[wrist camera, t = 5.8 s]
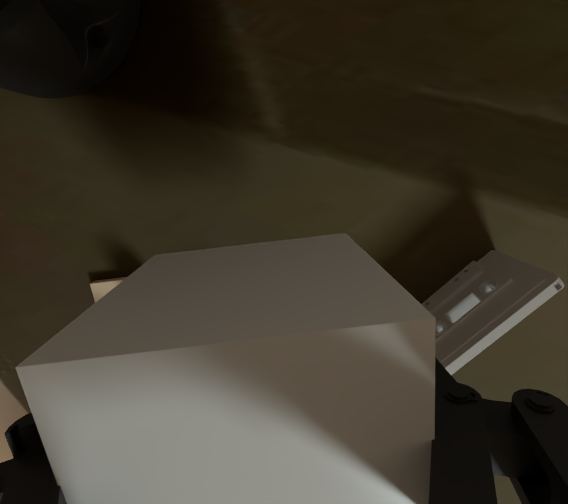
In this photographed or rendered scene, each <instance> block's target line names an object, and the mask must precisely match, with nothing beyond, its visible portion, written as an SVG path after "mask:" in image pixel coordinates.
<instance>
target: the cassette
mask: <svg viewBox="0 0 568 504" xmlns="http://www.w3.org/2000/svg"><path fill="white" fill-rule="evenodd" d="M562 288H564V283H563V282H562V281H561V279H560V278H559V277H558V276H557V275H555V274H553V273H550V272H548V271H545V270H543V269H540V268H538V267H535V266H533V265H530V264H528V263H525V262H523V261H520V260H518V259H515V258H513V257H510V256H508V255H505V254H503V253H500V252H498V251H495V250H491V251H490V252H488V253H487V254H486V255H485V256H484V257H482V258H481V259H480V260H479V261H477V262H475V261H472V262H471V263H470V264H469V265H467V266H466V267H465V268H464V269H463V270H461V271H460V272H459V273H458V274H457V275H455V276H454V277H453V278H452V279H451V280H449V281H448V282H447V283H446V284H445V285H443V286H442V287H441V288H440V289H439V290H437V291H436V292H435V293H434V294H433V295H431V296H430V297H429V298H428V299H427V300H425V301H424V302H423V303H422V304H421V305H423V306H424V307H425V308H426V309H427V310H428V311H429V312H430V313H431V314H432V315H433V316H434V317H435V318H436V327H435V357H436V358H437V359H438V360H439V362H440V363H441V364H442V365H443V366H444V368H445V369H446V370H447V371H448V372H449V374H450V375H452V374H453V373H455V372H456V371H457V370H458V369H460V368H461V367H462V366H464V365H465V364H466V363H467V362H469V361H470V360H471V359H472V358H474V357H475V356H476V355H478V354H479V353H480V352H481V351H483V350H484V349H485V348H487V347H488V346H489V345H490V344H492V343H493V342H494V341H496V340H497V339H498V338H499V337H501V336H502V335H503V334H505V333H506V332H507V331H508V330H510V329H511V328H512V327H513V326H515V325H516V324H517V323H519V322H520V321H521V320H522V319H524V318H525V317H526V316H528V315H529V314H530V313H531V312H533V311H534V310H535V309H537V308H538V307H539V306H540V305H542V304H543V303H544V302H546V301H547V300H548V299H549V298H551V297H552V296H553V295H554V294H556V293H557V292H558V291H560V290H561V289H562Z"/></svg>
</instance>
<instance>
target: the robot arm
mask: <svg viewBox="0 0 568 504" xmlns="http://www.w3.org/2000/svg"><path fill="white" fill-rule="evenodd" d="M140 5H141V0H0V87H1V88H4V89H7V90H11V91H14V92H18V93H22V94H25V95H29V96H34V97H41V98H63V97H69V96H73V95H77V94H80V93H83V92H86V91H88V90H90V89H92V88H94V87H96V86H97V85H99V84H100V83H102V82H103V81H104V80H106V79H107V78H108V77H109V76H110V75H111V74H112V73H113V72H114V71H115V70H116V69H117V68H118V67H119V65H120V64H121V63H122V61H123V60H124V58H125V57H126V55H127V53H128V51H129V49H130V47H131V45H132V43H133V40H134V37H135V34H136V31H137V27H138V22H139V16H140ZM5 436H6V439H7V441H8V444H9V447H10V449H11V451H12V454H13V459H11V460H8V461H5V462H2V463H0V504H67V503H66V500H65V497H64V494H63V492H62V489H61V486H58V485H57V482H56V479H55V476H54V474H53V471H52V468H51V465H50V463H49V460H48V457H47V454H46V451H45V449H44V446H43V443H42V440H41V437H40V435H39V432H38V429H37V426H36V424H35V421H34V418H33V415H32V412H31V413H29V414H27V415H25V416H23V417H22V418H20V419H18V420H17V421H15V422H14V423H13V424H12V425H11V426H10V427H9V428H8V429H7V431H6V432H5ZM493 474H495V475H501V476H507V477H509V478H510V480H511V482H512V484H513V486H514V488H515V490H516V492H517V494H518V497H519V499H520V501H521V503H522V504H568V406H567V405H566V404H565V403H564V402H562V401H561V400H560V399H559V398H557V397H555V396H553V395H551V394H549V393H546V392H543V391H540V390H533V389H522V390H518V391H516V392H514V394H513V396H512V402H503V401H493V400H487V399H483V398H482V397H481V395H480V394H479V393H478V392H477V391H476V390H475V389H473V388H471V387H469V386H467V385H464V384H460V383H457V382H456V381H455V379H454V378H453V377H452V376H451V375H450V374H449V372H448V371H447V370H446V369H445V368H444V366H443V365H442V364H441V363H440V362H439V360H438V359H437V358H436V357H435V439H434V440H432V445H431V465H430V485H429V504H497V498H496V491H495V484H494V476H493Z"/></svg>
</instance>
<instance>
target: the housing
mask: <svg viewBox="0 0 568 504" xmlns="http://www.w3.org/2000/svg"><path fill="white" fill-rule="evenodd" d="M435 327H436V318H435V317H434V316H433V315H432V314H431V313H430V312H429V311H428V310H427V309H426V308H425V307H424V306H423V305H421V304H420V303H419V302H418V301H417V300H416V299H415V298H414V297H413V296H412V295H411V294H410V293H409V292H408V291H407V290H406V289H404V288H403V287H402V286H401V285H400V284H399V283H398V282H397V281H396V280H395V279H394V278H393V277H392V276H391V275H390V274H389V273H387V272H386V271H385V270H384V269H383V268H382V267H381V266H380V265H379V264H378V263H377V262H376V261H375V260H374V259H373V258H372V257H370V256H369V255H368V254H367V253H366V252H365V251H364V250H363V249H362V248H361V247H360V246H359V245H358V244H357V243H356V242H355V241H353V240H352V239H351V238H350V237H349V236H348V235H347V234H346V233H341V234H333V235H324V236H315V237H307V238H298V239H289V240H281V241H272V242H263V243H255V244H246V245H237V246H229V247H220V248H211V249H203V250H194V251H185V252H176V253H168V254H159V255H154V256H153V257H152V258H150V259H149V260H148V261H147V262H146V263H144V264H143V265H142V266H141V267H139V268H138V269H137V270H136V271H134V272H133V273H132V274H131V275H129V276H128V277H127V278H126V279H124V280H123V281H122V282H121V283H119V284H118V285H117V286H116V287H114V288H113V289H112V290H111V291H110V292H108V293H107V294H106V295H105V296H103V297H102V298H101V299H100V300H98V301H97V302H96V303H95V304H93V305H92V306H91V307H90V308H88V309H87V310H86V311H85V312H83V313H82V314H81V315H80V316H79V317H77V318H76V319H75V320H74V321H72V322H71V323H70V324H69V325H67V326H66V327H65V328H64V329H62V330H61V331H60V332H59V333H57V334H56V335H55V336H54V337H52V338H51V339H50V340H49V341H47V342H46V343H45V344H44V345H43V346H41V347H40V348H39V349H38V350H36V351H35V352H34V353H33V354H31V355H30V356H29V357H28V358H26V359H25V360H24V361H23V362H21V363H20V364H19V365H18V366H16V367H15V368H16V371H17V373H18V376H19V379H20V382H21V385H22V387H23V390H24V393H25V396H26V398H27V401H28V404H29V407H30V410H31V412H32V415H33V418H34V421H35V424H36V426H37V429H38V432H39V435H40V437H41V440H42V443H43V446H44V449H45V451H46V454H47V457H48V460H49V463H50V465H51V468H52V471H53V474H54V476H55V479H56V482H57V485H58V486H61V489H62V492H63V494H64V497H65V500H66V503H67V504H429V485H430V465H431V445H432V440H434V439H435Z"/></svg>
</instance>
